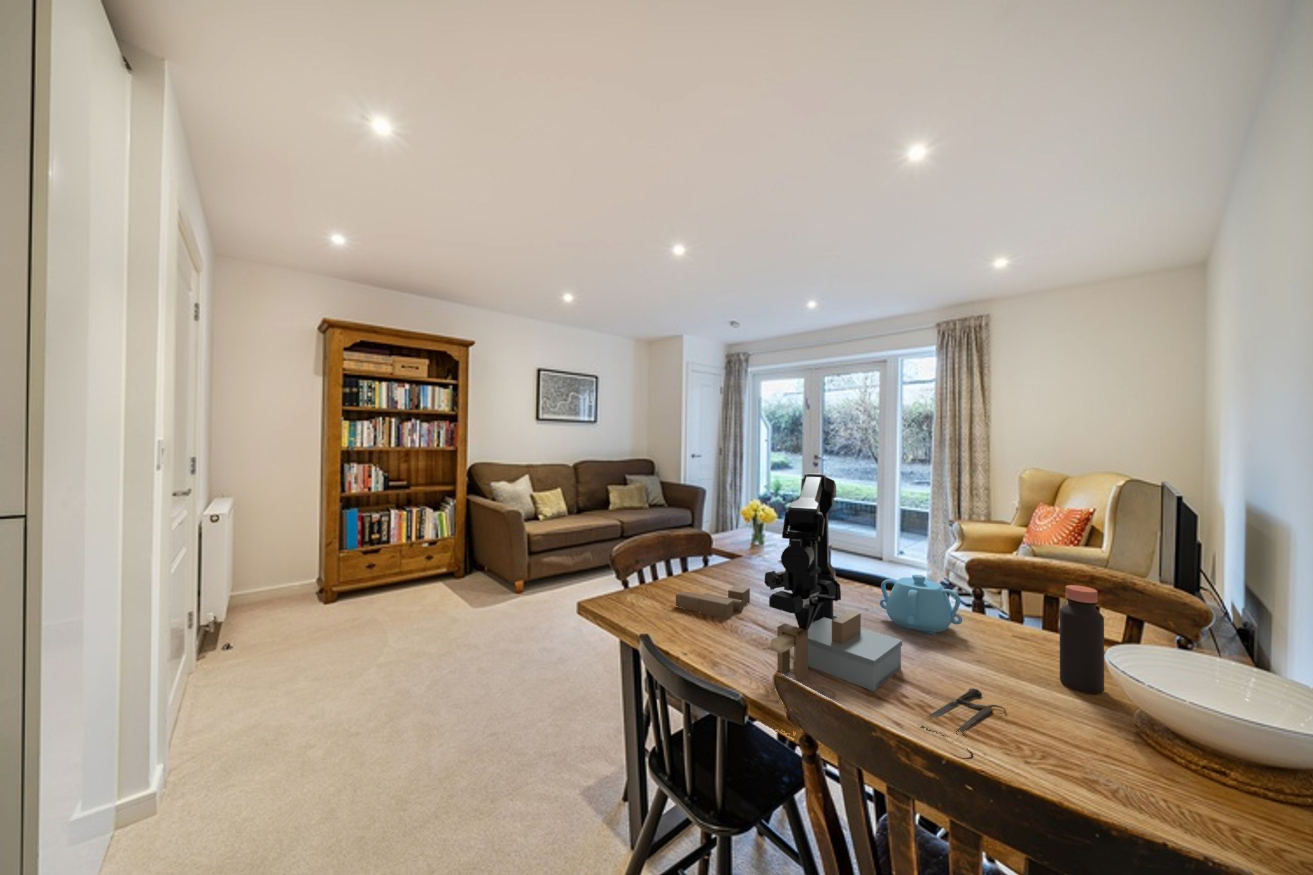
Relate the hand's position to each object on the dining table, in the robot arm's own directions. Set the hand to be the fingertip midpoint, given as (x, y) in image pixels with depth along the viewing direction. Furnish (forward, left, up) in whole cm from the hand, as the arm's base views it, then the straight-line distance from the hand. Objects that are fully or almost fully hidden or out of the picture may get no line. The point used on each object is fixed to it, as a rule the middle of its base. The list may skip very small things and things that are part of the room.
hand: (803, 632), depth 106 cm
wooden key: (+6, 0, -1) cm, 6 cm away
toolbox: (-5, +6, -7) cm, 11 cm away
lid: (-8, +6, -2) cm, 10 cm away
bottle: (-34, +43, -8) cm, 55 cm away
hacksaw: (-3, +31, -8) cm, 32 cm away
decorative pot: (-44, +9, -8) cm, 46 cm away
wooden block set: (-16, -39, -8) cm, 43 cm away
